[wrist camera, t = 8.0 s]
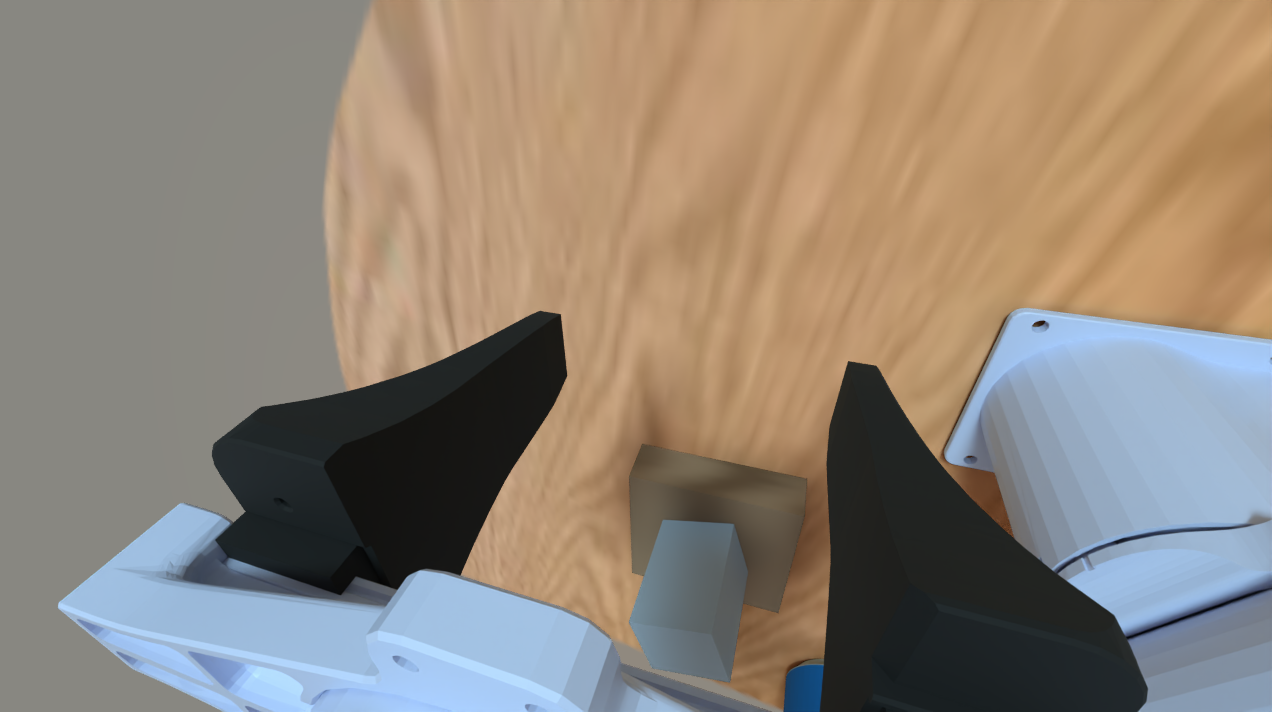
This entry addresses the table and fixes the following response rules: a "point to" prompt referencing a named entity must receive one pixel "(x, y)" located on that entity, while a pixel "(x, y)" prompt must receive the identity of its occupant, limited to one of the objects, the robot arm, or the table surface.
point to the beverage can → (804, 687)
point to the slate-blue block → (692, 599)
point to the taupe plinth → (720, 512)
